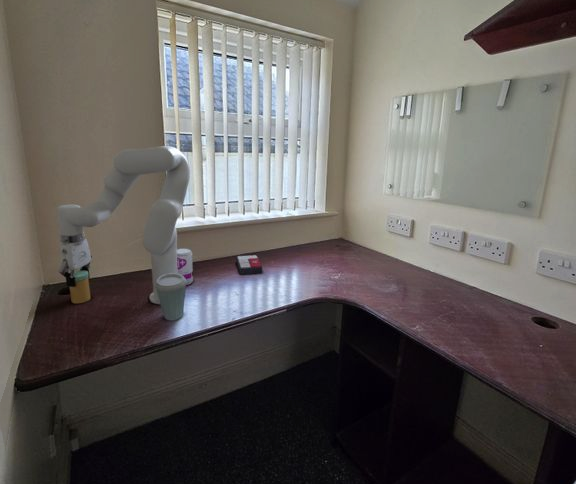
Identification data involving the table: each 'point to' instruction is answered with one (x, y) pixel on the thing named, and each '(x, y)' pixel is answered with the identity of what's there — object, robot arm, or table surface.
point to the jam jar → (80, 291)
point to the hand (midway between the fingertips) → (78, 281)
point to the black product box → (249, 264)
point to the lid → (80, 275)
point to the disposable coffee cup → (171, 294)
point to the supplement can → (185, 264)
